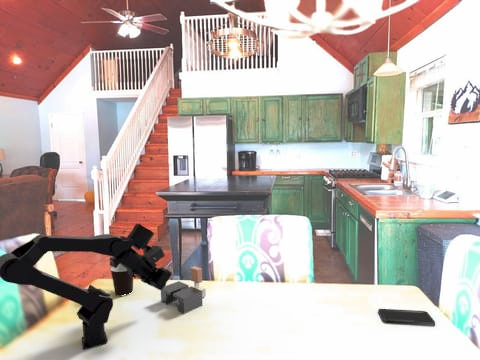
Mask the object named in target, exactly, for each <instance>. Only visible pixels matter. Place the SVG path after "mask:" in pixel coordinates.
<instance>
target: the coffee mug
mask: <svg viewBox="0 0 480 360" xmlns="http://www.w3.org/2000/svg"><path fill="white" fill-rule="evenodd" d="M110 272H111V278H112V279H111V280H112V282H113V284H112V285H113V291H114V293H115V294H117V295H124V294H129V293H131V292H132V291H133V290H134V279H135V278H134V277H131V276H130V275H129V274H128V270H126V268H125V267H123V266H122V265H121V264H119V265H118V266H117V268H114V267H112V266H111V268H110ZM133 292H134V291H133ZM133 292H132V293H133ZM132 293H131V294H132ZM115 294H114V295H115ZM117 295H116V296H117ZM129 295H130V294H129Z"/></svg>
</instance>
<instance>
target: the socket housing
mask: <svg viewBox="0 0 480 360" xmlns="http://www.w3.org/2000/svg"><path fill="white" fill-rule="evenodd" d="M160 301H161V303H162V302H163V304H164V303H165V305H166V304H167V305H169V304H172V303H174V302H176V301H177V311H178V312H180V313H182V314H183V313H184V314H185V315H186V314H187V313H189V312H191V311H194V310H195V309H198V308H200V307H202V306H203V304H204V303H203V298H202V291H201V290H199V289H196V288H194V287H193V286H189V284H187V283H184V282H182V281H175V282H173V283H169V284H166V285H165V287H163V289H162V290H160ZM173 301H174V302H173ZM171 302H172V303H171ZM168 303H169V304H168ZM186 312H187V313H186Z"/></svg>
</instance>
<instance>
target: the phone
mask: <svg viewBox="0 0 480 360" xmlns="http://www.w3.org/2000/svg"><path fill="white" fill-rule="evenodd" d="M377 312H378V315H379V317H380V318H381V320H382V321H381V322H383V323H386V324H397V325H398V324H402V325H416V326H417V325H418V326H435V325H436V321H435V320H434V319H433V317H432V316H431V315H430V314H429V312H428V311H425V310H412V309H408V310H407V309H392V308H378V310H377Z"/></svg>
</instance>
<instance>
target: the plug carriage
mask: <svg viewBox="0 0 480 360" xmlns="http://www.w3.org/2000/svg"><path fill="white" fill-rule="evenodd" d="M190 281H191V282H194V284H193V286H192V287H194V288H196V289H199V290H201V291H202V299H203V298H205V297H206V295H207V294H206V287H203V286H200V283H203V269H202V268H201V267H199V266H192V267H190Z"/></svg>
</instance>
